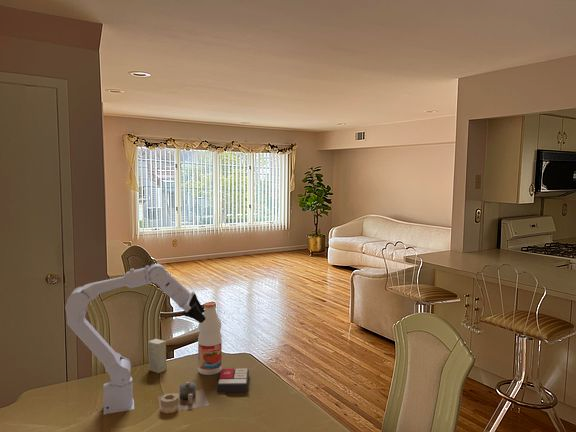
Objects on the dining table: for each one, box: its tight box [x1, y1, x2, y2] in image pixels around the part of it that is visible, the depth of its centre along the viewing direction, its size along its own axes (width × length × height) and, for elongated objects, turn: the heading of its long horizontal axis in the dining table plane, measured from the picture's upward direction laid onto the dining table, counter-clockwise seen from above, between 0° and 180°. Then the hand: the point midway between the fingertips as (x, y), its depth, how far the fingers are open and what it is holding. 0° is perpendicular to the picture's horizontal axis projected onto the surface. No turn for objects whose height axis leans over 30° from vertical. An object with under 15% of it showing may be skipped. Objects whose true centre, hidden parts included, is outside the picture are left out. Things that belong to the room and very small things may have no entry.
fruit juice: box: [197, 301, 223, 376], centre depth 176 cm, size 9×9×28 cm
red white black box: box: [216, 367, 250, 395], centre depth 165 cm, size 11×4×15 cm
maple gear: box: [160, 392, 178, 414], centre depth 145 cm, size 6×6×4 cm
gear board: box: [157, 381, 210, 415], centre depth 150 cm, size 16×13×6 cm
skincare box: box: [147, 338, 168, 374], centre depth 177 cm, size 6×4×12 cm
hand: (203, 316), depth 154 cm, fingers open, 7 cm apart
